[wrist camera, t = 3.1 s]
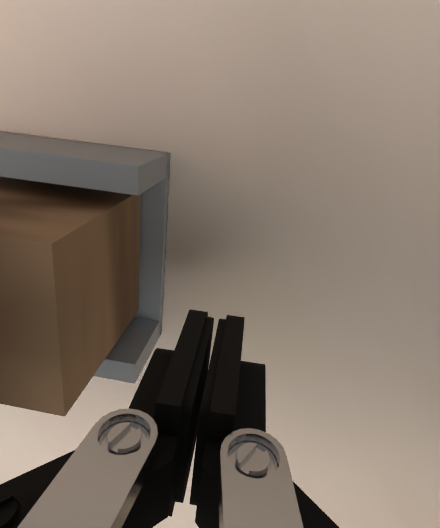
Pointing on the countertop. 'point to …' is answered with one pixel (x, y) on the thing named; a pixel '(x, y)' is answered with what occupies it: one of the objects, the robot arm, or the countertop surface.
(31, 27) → the countertop surface
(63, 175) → the chute
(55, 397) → the block
